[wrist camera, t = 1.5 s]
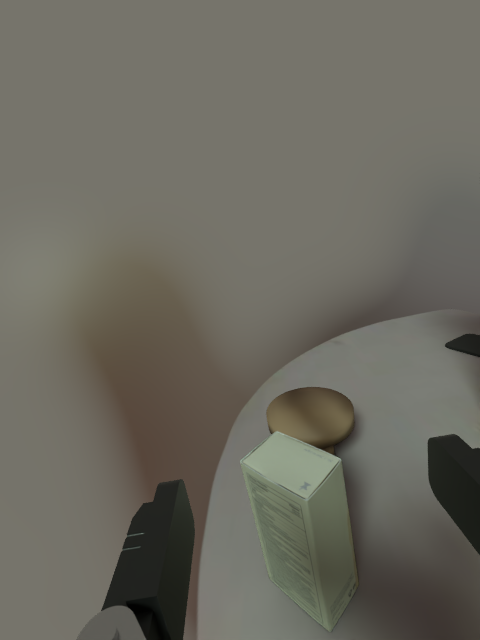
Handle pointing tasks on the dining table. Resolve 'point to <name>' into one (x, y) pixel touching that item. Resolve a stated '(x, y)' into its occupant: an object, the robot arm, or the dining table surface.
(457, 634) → the dining table surface
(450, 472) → the robot arm
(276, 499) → the skincare box
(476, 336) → the phone
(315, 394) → the stool
